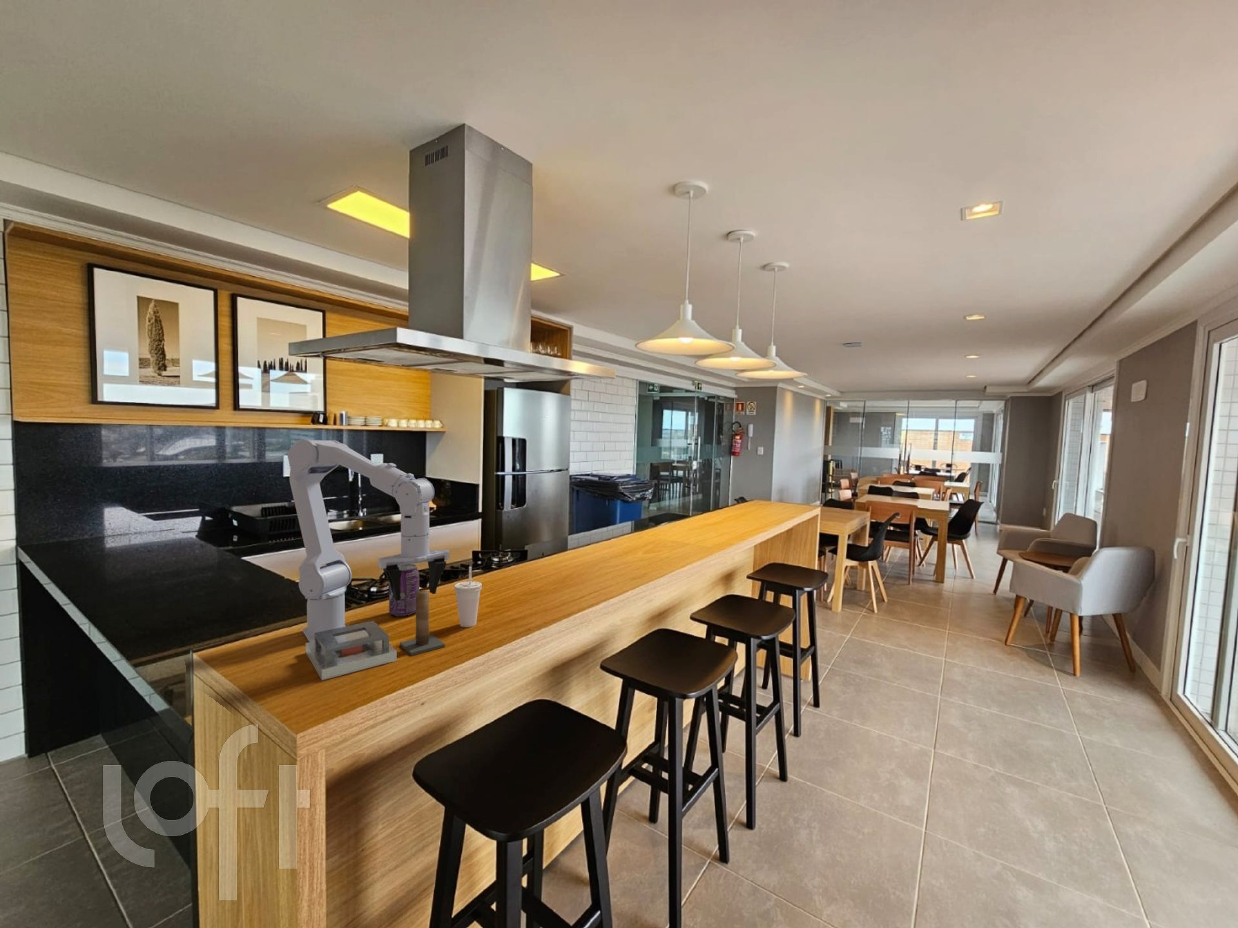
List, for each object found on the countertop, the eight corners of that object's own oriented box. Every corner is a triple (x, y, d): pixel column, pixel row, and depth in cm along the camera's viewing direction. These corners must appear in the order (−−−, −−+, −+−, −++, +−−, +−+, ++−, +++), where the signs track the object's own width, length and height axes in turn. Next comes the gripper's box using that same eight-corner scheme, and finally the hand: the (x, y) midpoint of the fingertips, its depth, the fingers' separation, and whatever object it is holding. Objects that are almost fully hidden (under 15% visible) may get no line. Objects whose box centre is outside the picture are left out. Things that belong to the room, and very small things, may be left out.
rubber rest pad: (400, 645, 106) (400, 642, 106) (432, 637, 111) (432, 634, 111) (411, 655, 101) (411, 652, 101) (445, 646, 106) (444, 644, 106)
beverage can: (391, 610, 129) (390, 564, 129) (420, 607, 131) (420, 562, 131) (387, 619, 122) (386, 571, 122) (418, 616, 124) (417, 569, 124)
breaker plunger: (340, 657, 99) (340, 644, 99) (359, 652, 102) (359, 640, 102) (344, 663, 97) (344, 650, 97) (364, 658, 99) (364, 645, 99)
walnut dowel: (414, 642, 106) (414, 592, 106) (427, 640, 108) (426, 590, 107) (417, 646, 104) (417, 595, 104) (430, 643, 106) (430, 592, 105)
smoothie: (473, 630, 115) (473, 570, 115) (448, 628, 117) (448, 569, 116) (486, 620, 122) (486, 564, 121) (462, 618, 123) (462, 562, 122)
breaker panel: (305, 652, 102) (305, 629, 102) (373, 637, 111) (373, 615, 111) (322, 680, 90) (321, 654, 90) (396, 660, 99) (396, 636, 99)
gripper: (385, 541, 100) (385, 607, 101) (454, 533, 110) (454, 594, 110) (375, 535, 106) (375, 598, 106) (442, 529, 115) (442, 587, 116)
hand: (415, 596), depth 109 cm, fingers open, 7 cm apart
